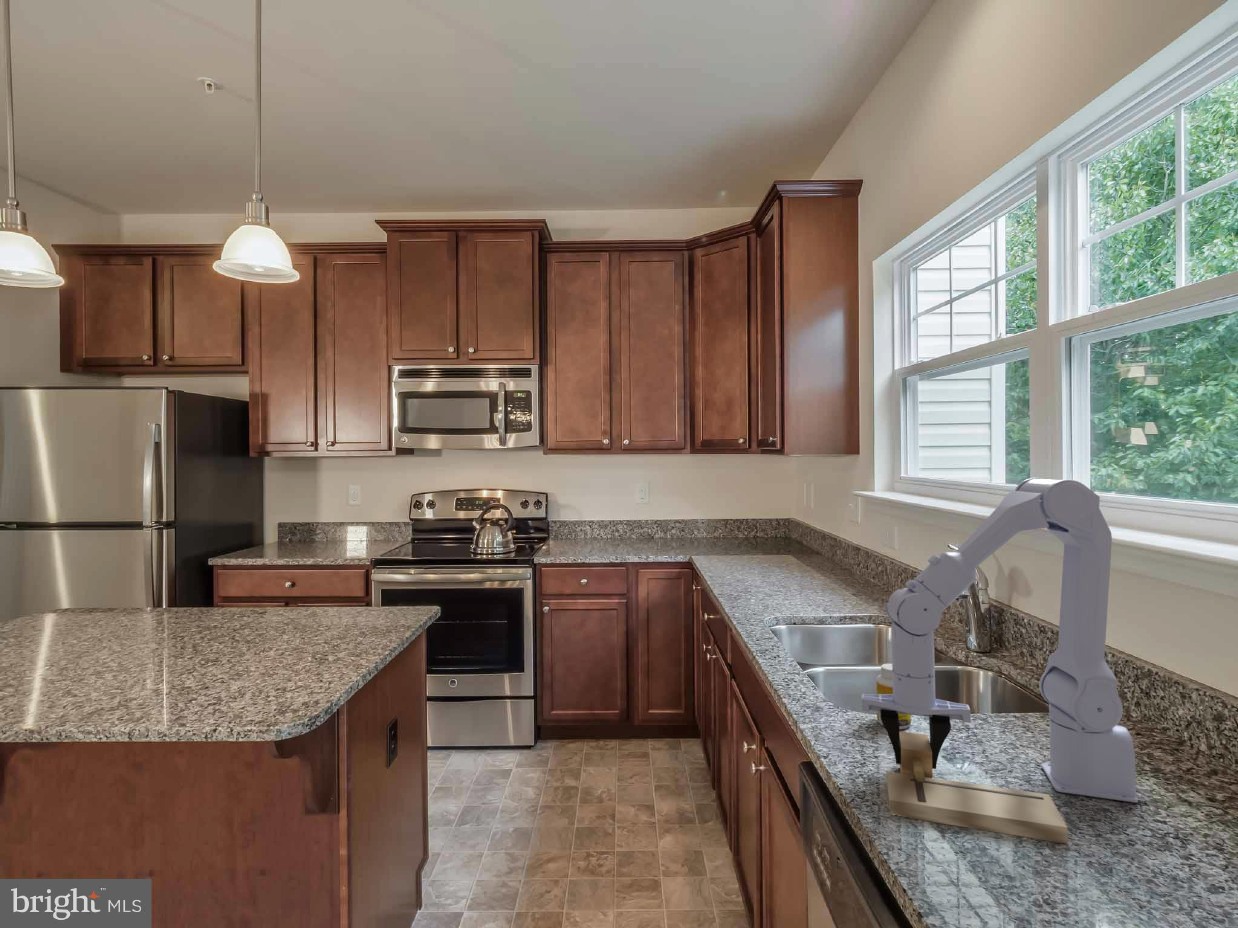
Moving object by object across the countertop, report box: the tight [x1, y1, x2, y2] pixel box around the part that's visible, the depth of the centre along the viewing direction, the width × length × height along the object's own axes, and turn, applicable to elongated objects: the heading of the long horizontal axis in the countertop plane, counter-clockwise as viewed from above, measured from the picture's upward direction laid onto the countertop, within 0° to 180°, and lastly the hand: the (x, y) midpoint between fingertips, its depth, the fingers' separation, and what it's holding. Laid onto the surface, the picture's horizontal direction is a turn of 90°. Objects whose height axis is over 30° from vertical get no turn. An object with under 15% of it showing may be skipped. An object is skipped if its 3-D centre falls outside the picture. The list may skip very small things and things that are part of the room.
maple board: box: [886, 771, 1069, 845], centre depth 84 cm, size 20×8×2 cm, turn 69°
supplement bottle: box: [876, 663, 912, 730], centre depth 113 cm, size 6×6×10 cm
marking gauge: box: [899, 731, 934, 783], centre depth 91 cm, size 4×11×5 cm, turn 159°
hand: (915, 763), depth 94 cm, fingers closed on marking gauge, 4 cm apart
